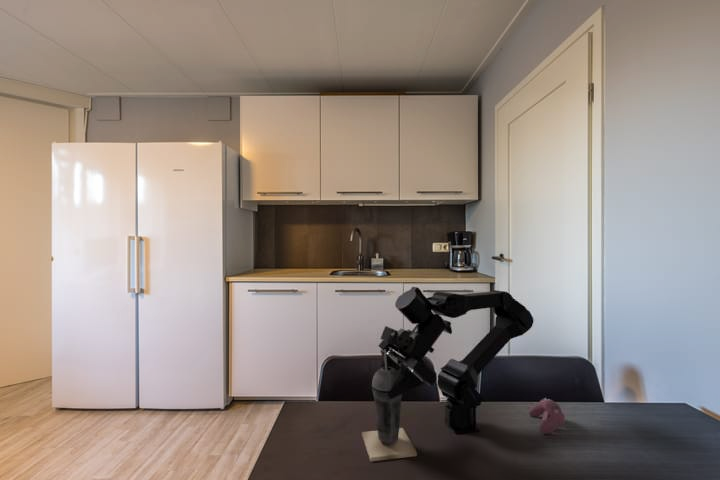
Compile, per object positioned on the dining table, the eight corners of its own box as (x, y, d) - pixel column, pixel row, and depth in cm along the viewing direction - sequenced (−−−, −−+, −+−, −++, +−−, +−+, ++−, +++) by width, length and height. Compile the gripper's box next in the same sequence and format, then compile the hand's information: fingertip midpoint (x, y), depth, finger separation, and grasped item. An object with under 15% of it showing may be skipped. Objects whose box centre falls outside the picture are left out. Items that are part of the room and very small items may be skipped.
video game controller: (557, 443, 78) (571, 416, 78) (538, 432, 79) (552, 406, 79) (543, 421, 88) (555, 398, 88) (526, 412, 89) (538, 389, 88)
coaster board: (402, 431, 81) (402, 427, 81) (416, 455, 71) (416, 452, 71) (361, 435, 79) (361, 432, 79) (370, 461, 70) (370, 457, 70)
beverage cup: (408, 432, 77) (407, 345, 78) (398, 450, 71) (397, 354, 71) (379, 426, 81) (378, 342, 81) (366, 442, 74) (365, 350, 74)
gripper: (384, 307, 86) (344, 356, 82) (422, 321, 69) (374, 384, 65) (412, 335, 89) (375, 383, 85) (456, 355, 71) (411, 418, 67)
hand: (382, 390), depth 75 cm, fingers closed on beverage cup, 7 cm apart
